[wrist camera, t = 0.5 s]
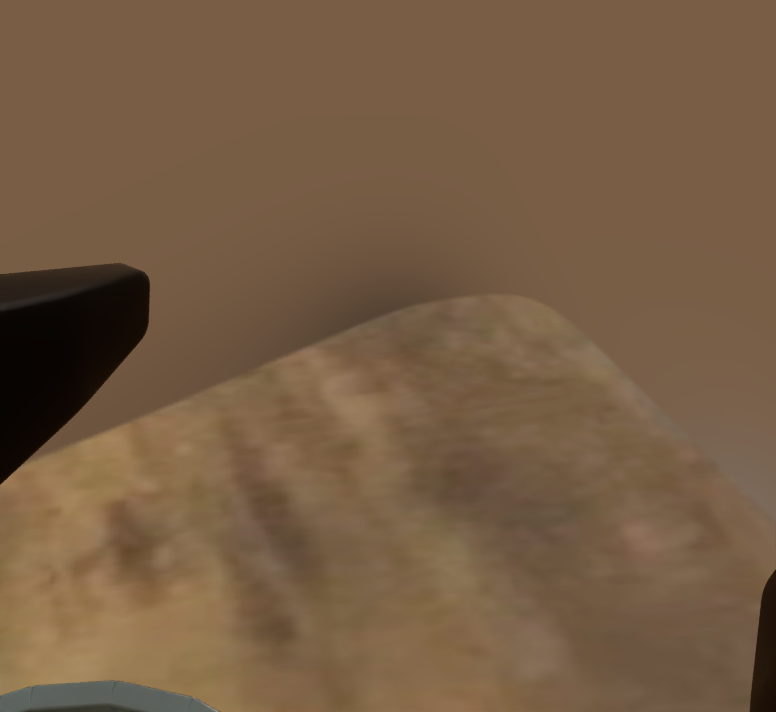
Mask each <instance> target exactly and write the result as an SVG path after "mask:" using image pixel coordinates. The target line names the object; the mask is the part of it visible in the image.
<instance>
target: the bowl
mask: <svg viewBox="0 0 776 712" xmlns="http://www.w3.org/2000/svg"><path fill="white" fill-rule="evenodd" d="M0 712H220V711H218V710H216V709H215V708H213V707H211V706H209V705H208V704H206V703H204V702H202V701H200V700H199V699H197V698H193V697H191V696H187V695H183V694H178V693H173V692H169V691H164V690H160V689H155V688H150V687H146V686H141V685H137V684H132V683H127V682H123V681H114V680H111V681H95V682H80V683H64V684H49V685H35V686H33V687H26V688H23V689H20V690H17V691H14V692H10V693H7V694H4V695H1V696H0Z"/></svg>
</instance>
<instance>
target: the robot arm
mask: <svg viewBox="0 0 776 712" xmlns="http://www.w3.org/2000/svg"><path fill="white" fill-rule="evenodd" d="M149 293H150V281H149V278H148V276H147V275H146V273H145V272H143V271H141V270H138V269H135V268H133V267H130V266H128V265H125V264H121V263H114V264H104V265H93V266H84V267H72V268H62V269H52V270H41V271H31V272H20V273H9V274H0V485H1V484H2V483H3V482H4V481H5V480H6V479H7V478H8V477H9V476H10V475H11V474H12V473H13V472H15V471H16V470H17V469H18V468H19V467H20V466H21V465H22V464H23V463H24V462H25V461H26V460H28V459H29V458H30V457H31V456H32V455H33V454H34V453H35V452H36V451H37V450H38V449H39V448H40V447H41V446H43V445H44V444H45V443H46V442H47V441H48V440H49V439H50V438H51V437H52V436H53V435H54V434H56V432H58V431H59V430H60V429H61V428H62V427H63V426H64V425H65V424H66V423H67V422H68V421H69V420H70V419H71V418H73V416H75V414H76V413H78V412H79V410H80V409H81V408H82V407H83V406H84V405H85V404H86V403H87V402H88V401H89V400H90V399H91V398H92V396H93V395H94V394H95V393H96V392H97V390H98V389H99V388H100V387H101V386H102V385H103V384H104V383H105V381H106V380H107V379H108V378H109V377H110V376H111V374H112V373H113V372H114V371H115V370H116V369H117V368H118V366H119V365H120V364H121V363H122V362H123V361H124V359H125V358H126V357H127V356H128V355H129V354H130V353H131V351H132V350H133V349H134V348H135V347H136V346H137V344H138V343H139V342H140V341H141V340H142V338H143V336H144V335H145V333H146V330H147V327H148V323H149V297H150V294H149ZM750 712H776V570H775V571H774V572H773V574H772V575H771V576H770V578H769V579H768V581H767V583H766V585H765V588H764V590H763V594H762V599H761V608H760V617H759V626H758V635H757V644H756V653H755V662H754V671H753V680H752V690H751V701H750Z"/></svg>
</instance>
